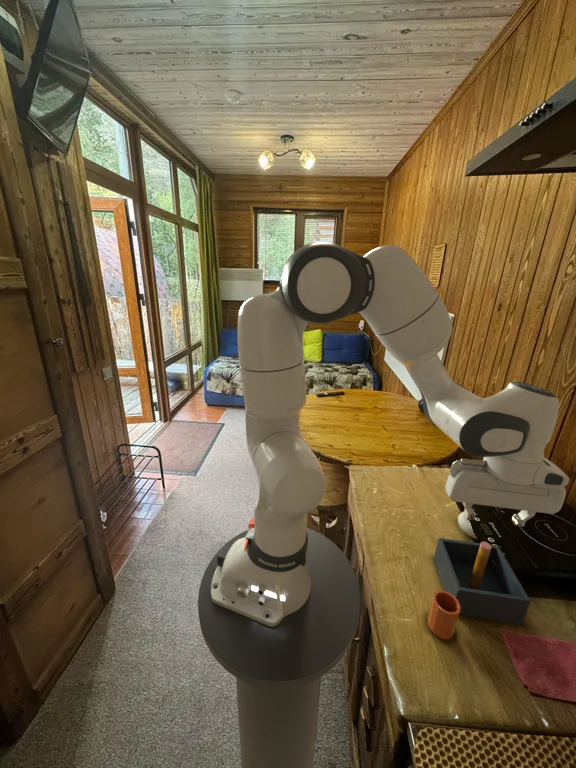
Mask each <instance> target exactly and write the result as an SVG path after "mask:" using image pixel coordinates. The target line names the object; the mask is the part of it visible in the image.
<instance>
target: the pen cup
mask: <svg viewBox="0 0 576 768" xmlns="http://www.w3.org/2000/svg"><path fill="white" fill-rule="evenodd" d="M431 600H432V601H431V604H430V609H429V613H428V617H427V625H428V628H429V629H430V631H431V632H432V633H433V634H434V635H435V636H436V637H438V638H440V639H442V640H449V639H452V637H453V636H454V634H455V630H456V627H457V624H458V620H459V617H460V615H461V614H460V609H461V606H460V604H459V601H458V600H457V599H456V598H455V596H453V595H452V594H450V593H449V592H446V591H444V589H442V590H441V589H439V590H437V591H435V592H433V596H432V599H431Z"/></svg>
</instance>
